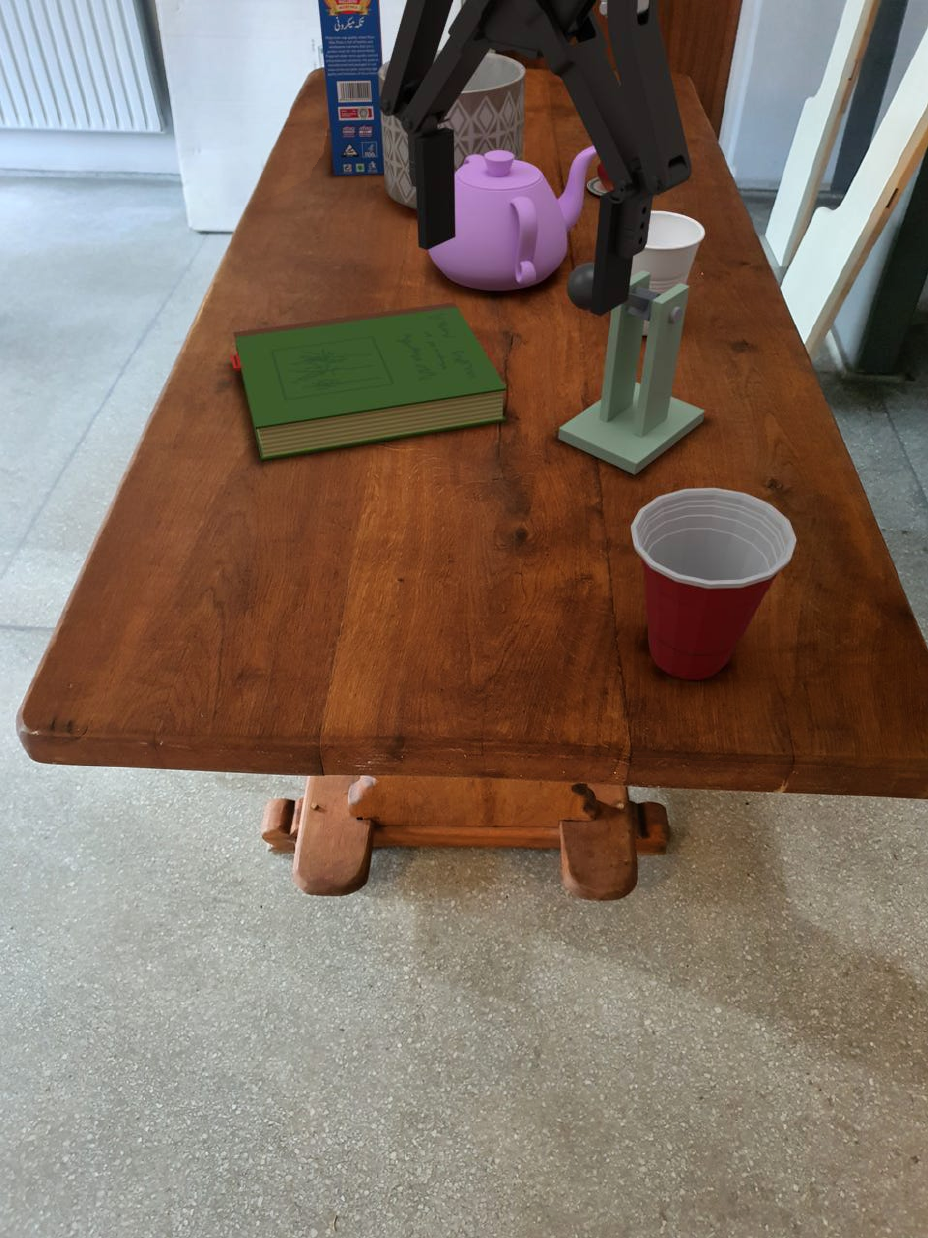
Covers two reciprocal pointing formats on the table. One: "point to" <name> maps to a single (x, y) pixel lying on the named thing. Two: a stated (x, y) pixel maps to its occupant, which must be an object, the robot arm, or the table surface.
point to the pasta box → (353, 83)
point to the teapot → (509, 222)
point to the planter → (464, 122)
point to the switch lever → (582, 292)
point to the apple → (600, 182)
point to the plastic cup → (706, 573)
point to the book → (365, 380)
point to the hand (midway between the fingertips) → (518, 272)
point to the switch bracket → (638, 387)
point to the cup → (668, 251)
